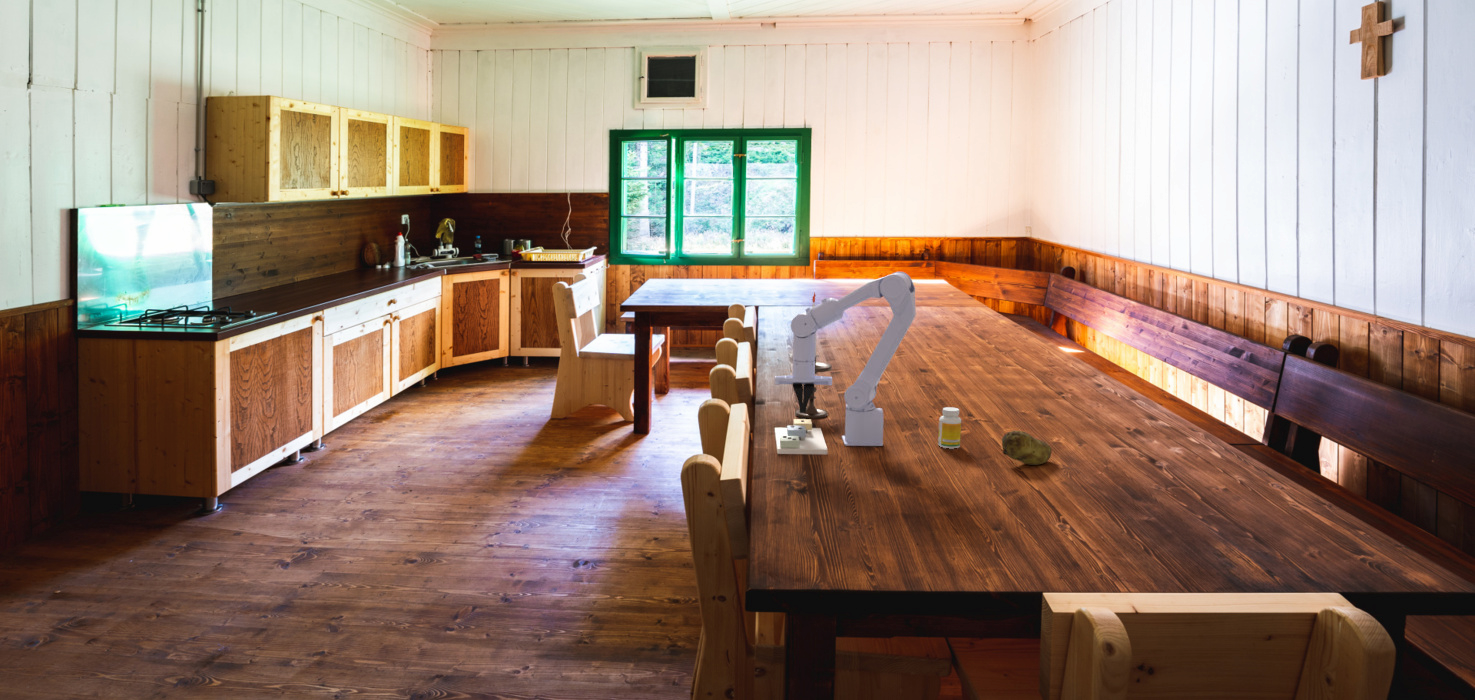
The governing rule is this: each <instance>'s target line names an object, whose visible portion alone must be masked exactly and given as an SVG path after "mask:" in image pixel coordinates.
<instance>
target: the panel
mask: <svg viewBox="0 0 1475 700" xmlns="http://www.w3.org/2000/svg"><path fill="white" fill-rule="evenodd" d="M780 436H787V427H774V437H775V447H776V451H777V453H776V454H778V455H828V447H827V444H826V441H825V438H824V435H823V431H822V428H821V427H812V430H806V437H799V448H781V447H780Z"/></svg>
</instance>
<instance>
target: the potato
mask: <svg viewBox="0 0 1475 700" xmlns="http://www.w3.org/2000/svg"><path fill="white" fill-rule="evenodd" d="M1001 444H1002V445H1001V446H1002V450H1003V451H1002V454H1004V455H1005V456H1007V457H1009V458H1010V459H1011V460H1014V461H1018V462H1021V463H1023V464H1026V465H1029V466H1040V465H1042V464H1045V463H1046V462H1048V461H1049V460H1050V458H1051V457H1052V451H1053V450H1052V447H1051V446H1050V445H1049V444H1048V443H1047V442H1046V441H1043V440H1041V439H1038V438H1036V437H1034V436H1032V434H1030V433H1028V432H1026V431H1022V430H1012V431H1009V432H1007V433H1004V435H1003V436H1002V438H1001Z"/></svg>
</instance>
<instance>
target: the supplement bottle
mask: <svg viewBox="0 0 1475 700" xmlns="http://www.w3.org/2000/svg"><path fill="white" fill-rule="evenodd" d="M941 414H942V415H940V417H939V419H938V436H937V437H938V438H937V444H938V445H939V446H940V448H941V447H943V448H942V449H946V448H949V449H948V450H955V449H954V448H957V449H959V448H960V445H961V438H962V437H961V433H962V419H961V417H960V416H959V415H960V409H959V408H957V407H953V406H952V407H950V406H947V407H946V406H945V407H942V413H941ZM938 445H937V446H938ZM939 446H938V447H939Z"/></svg>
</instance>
